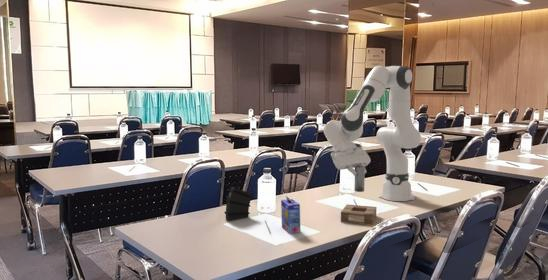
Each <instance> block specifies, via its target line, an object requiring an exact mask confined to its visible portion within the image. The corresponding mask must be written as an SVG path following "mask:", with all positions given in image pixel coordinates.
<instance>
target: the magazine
mask: <svg viewBox="0 0 548 280" xmlns="http://www.w3.org/2000/svg"><path fill="white" fill-rule="evenodd" d="M228 190H229V193H228V195H227V198H226V200H225V202H226V205H225V211H224V214H225V220H226V221H229V222H230V221H234V220H241V219H245V218H249V215H250V214H251V213H250V212H249V210H250V207H251V205H250V204H251V201H252V200H253V199H254V197H253V196H254V195H253V193H250V192H247V191H244V190H242V189H239V188H237V187H234V186H231V188H229V189H228Z"/></svg>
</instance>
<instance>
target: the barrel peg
mask: <svg viewBox="0 0 548 280" xmlns="http://www.w3.org/2000/svg"><path fill="white" fill-rule="evenodd" d="M365 169H366V166H365V167H363V166H355V168H354V170H357V172H358V174H357V175H355V176H354V192H358V193H363V192H365V174H366V173H365Z"/></svg>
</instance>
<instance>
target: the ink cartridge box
mask: <svg viewBox="0 0 548 280" xmlns="http://www.w3.org/2000/svg"><path fill="white" fill-rule="evenodd" d="M280 203H281V204H280V205H281V212H280V213H281V228H283V230H285V231H286V232H287V233H288V234H297V233H301V206H300V203H298V202H297V201H295V200H294V199H292V198H289V197H288V196H285V199H281V200H280Z"/></svg>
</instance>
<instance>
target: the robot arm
mask: <svg viewBox="0 0 548 280" xmlns="http://www.w3.org/2000/svg"><path fill="white" fill-rule="evenodd" d="M413 77H414V73H413V71H412V68H410V67H408V66H405V65H390V66H383V65H376V66H374V67H373V68H372V69H371V71H370V72H368V75H366V77H365V79H364V81H363V83H362V85H361V87H360V90H359V92H358V93H357V95H356V96H355V99H354V100H353V102H352V103H351V105H350V106H348V107H347V109H345V110H344V111H343V112H342V114H341V116H340V120H335V119H331V120H329V121H328V122H327V123H326V124H325V125H324V127H323V134H324V136H325V138H326V139H327V141H328V143H329V144H330V145H331V146H332V149H333V151H331V153H330V157H331V159H332V162H333V164H334V166H335V168H336V169H337V170H338V171H340V170H341V171H342V170H348V171H349V172H350V173H351V174H352V175H353V176H354V177H355V175H357V174H358V172H357V170H355V166H363V167H365V174H367V169H366V167H367V166H368V165H369V164H370V163H371V157H370V156H369V154H368V152H367V151H366V150H365V149H364V148H363V145H362V144H360V143H356V142H353V141H356V140H358V139H360V138H362V135H363V132H364V112H365V110H366V108H367V106H368V105H369V103H375V102H378V101H379V100H380V99H381V98H382V96H383V94H384V93H385V91H386V89H390V90H389V96H388V116H389V118H390V119H392V120H393V122H394V123H395V124H394V125H395V126H392V125H391V126H390V125H389V126H382V127H379V129H378V130H377V132H376V140H377V142H378V143H379V144H380V146H381V147H382V149H383V151H384V154H385V157H386V172H385V180H384V181H383V182H382V189H381V190H382V191H381V193H380V194H379V195H378V198H381V199H384V200H387V201H392V202H407V201H414V200H415V199H416V198H415V196H414V195H413V193H412V184H411V183H410V181H409V177H410V176H409V175H410V174H409V159H408V157H407V156H406V155H405V154H404V153H403V151H402V149H414V148H417V147H418V146H419V145H420V144H421V141H422V135H421V133H420V131H419V130H418V129H417V128H416V126H415V125H414V123H413V121H412V116H411V98H412V97H411V87H410V85H411V83H412V82H413Z"/></svg>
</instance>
